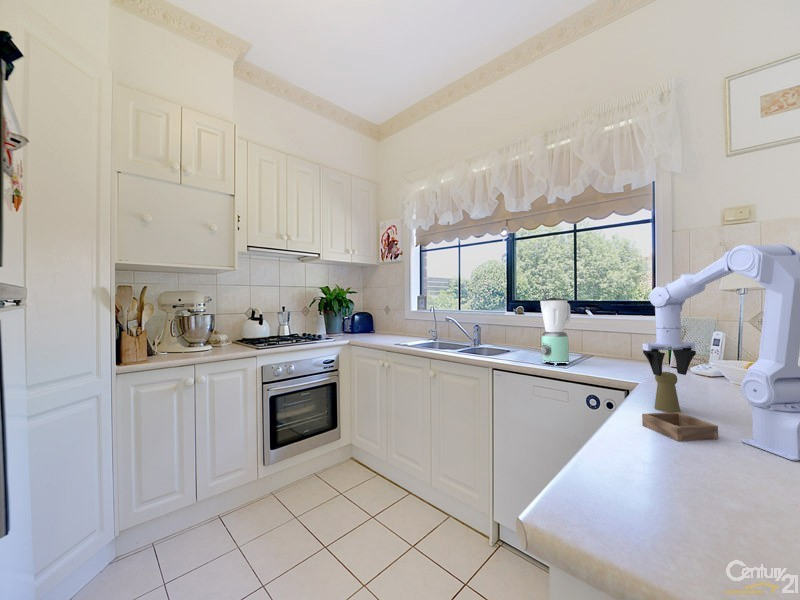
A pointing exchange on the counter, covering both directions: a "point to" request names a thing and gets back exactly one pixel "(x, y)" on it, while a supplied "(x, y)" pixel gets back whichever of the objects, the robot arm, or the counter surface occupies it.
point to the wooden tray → (680, 426)
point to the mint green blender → (555, 330)
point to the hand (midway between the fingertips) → (669, 374)
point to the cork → (666, 393)
